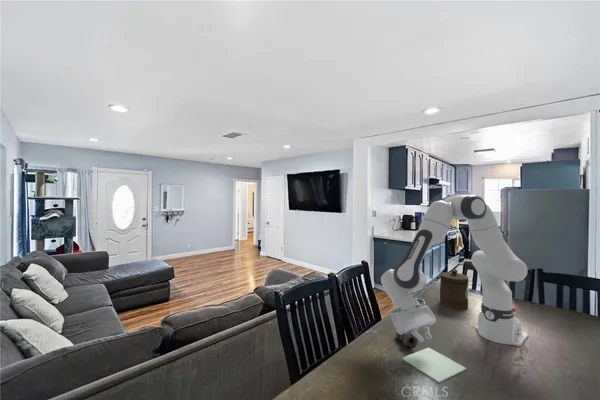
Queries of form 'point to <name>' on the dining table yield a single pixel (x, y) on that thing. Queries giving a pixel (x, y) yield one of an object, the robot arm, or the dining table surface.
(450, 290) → the wooden container
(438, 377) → the mat
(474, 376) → the dining table surface
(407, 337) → the grey metal vase shape
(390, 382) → the dining table surface
